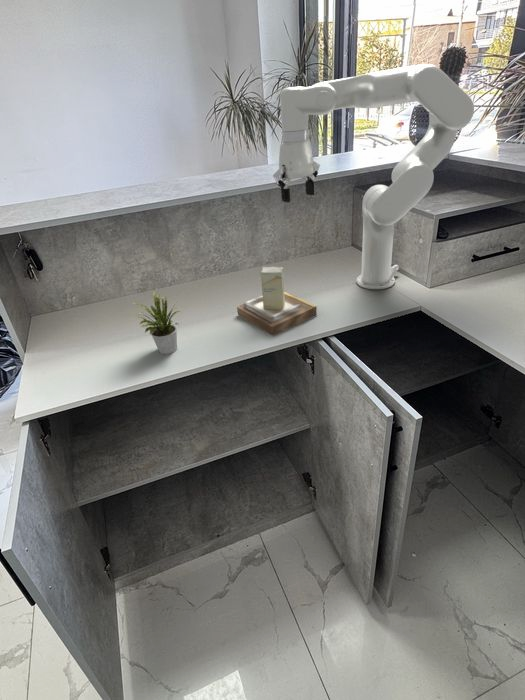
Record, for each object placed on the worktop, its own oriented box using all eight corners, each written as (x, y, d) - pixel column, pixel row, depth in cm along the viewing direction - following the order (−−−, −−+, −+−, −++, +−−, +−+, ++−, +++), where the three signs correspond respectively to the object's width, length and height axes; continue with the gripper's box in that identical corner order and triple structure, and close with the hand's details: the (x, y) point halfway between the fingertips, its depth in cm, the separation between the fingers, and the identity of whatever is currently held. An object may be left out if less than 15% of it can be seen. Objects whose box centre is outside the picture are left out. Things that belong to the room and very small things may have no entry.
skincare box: (263, 310, 132) (259, 272, 126) (265, 303, 136) (262, 266, 129) (284, 310, 131) (281, 272, 124) (285, 303, 135) (283, 266, 128)
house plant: (136, 343, 128) (122, 293, 120) (182, 330, 133) (171, 281, 124) (146, 367, 117) (130, 313, 108) (195, 352, 121) (184, 299, 113)
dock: (279, 297, 146) (278, 285, 143) (316, 315, 133) (316, 302, 130) (237, 315, 138) (236, 302, 135) (272, 335, 125) (271, 322, 123)
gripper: (309, 132, 132) (311, 190, 141) (263, 141, 123) (268, 202, 133) (326, 132, 126) (327, 193, 135) (280, 142, 118) (284, 206, 127)
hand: (298, 198), depth 134 cm, fingers open, 9 cm apart
